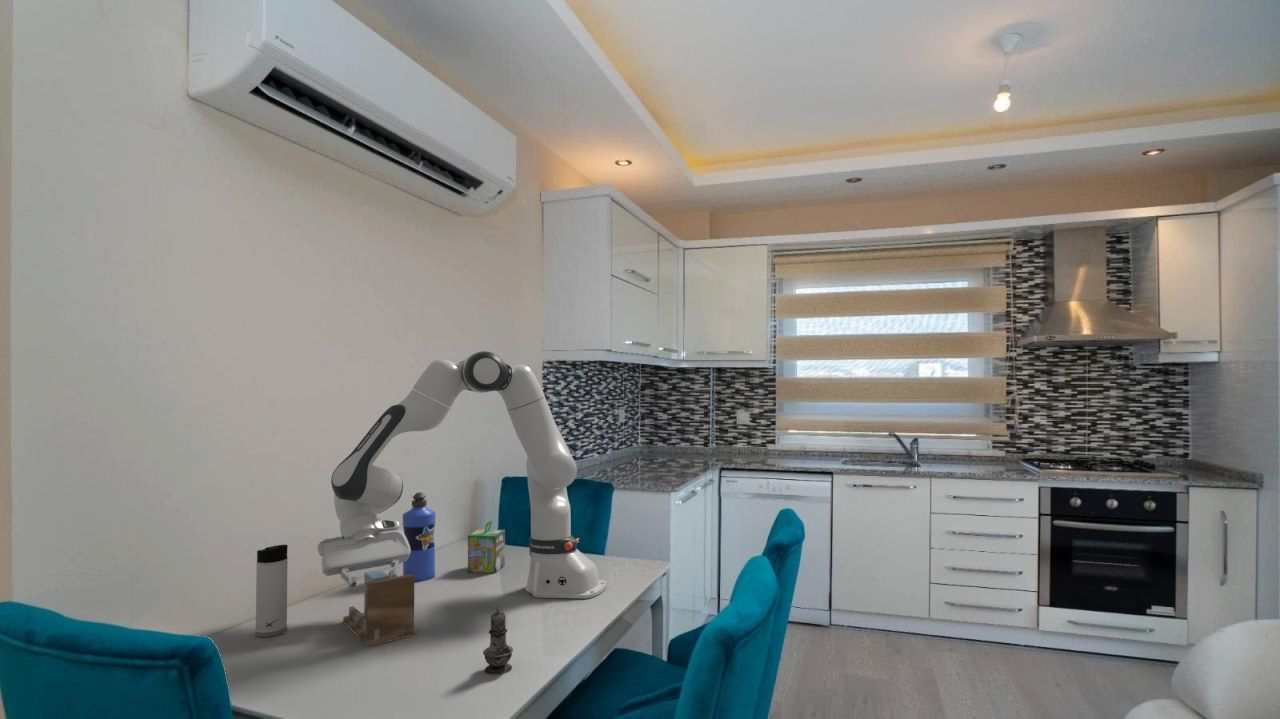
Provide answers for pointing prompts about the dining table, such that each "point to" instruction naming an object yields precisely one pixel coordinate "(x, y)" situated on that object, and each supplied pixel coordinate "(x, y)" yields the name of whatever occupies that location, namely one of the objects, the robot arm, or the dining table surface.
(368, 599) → the brown wooden holder
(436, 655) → the dining table surface
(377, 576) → the pale blue rectangular block
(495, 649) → the salt shaker
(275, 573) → the travel mug
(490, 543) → the chalk box
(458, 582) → the dining table surface
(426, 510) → the water bottle
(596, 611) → the dining table surface
